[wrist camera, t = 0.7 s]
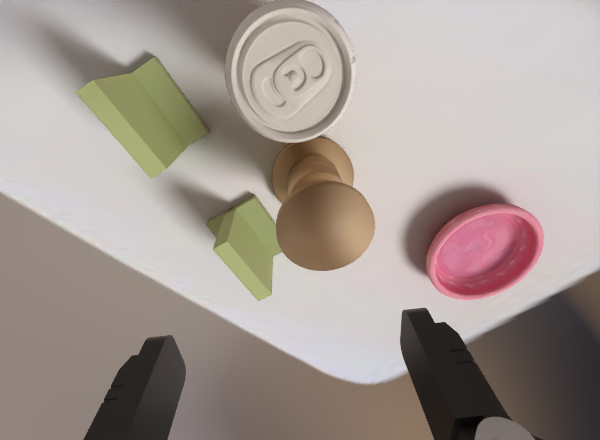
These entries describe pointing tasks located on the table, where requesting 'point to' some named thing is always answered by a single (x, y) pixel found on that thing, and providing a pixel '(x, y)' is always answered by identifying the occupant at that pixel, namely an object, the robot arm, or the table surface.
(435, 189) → the table surface
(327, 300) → the table surface
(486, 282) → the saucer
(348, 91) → the beer can
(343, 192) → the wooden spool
